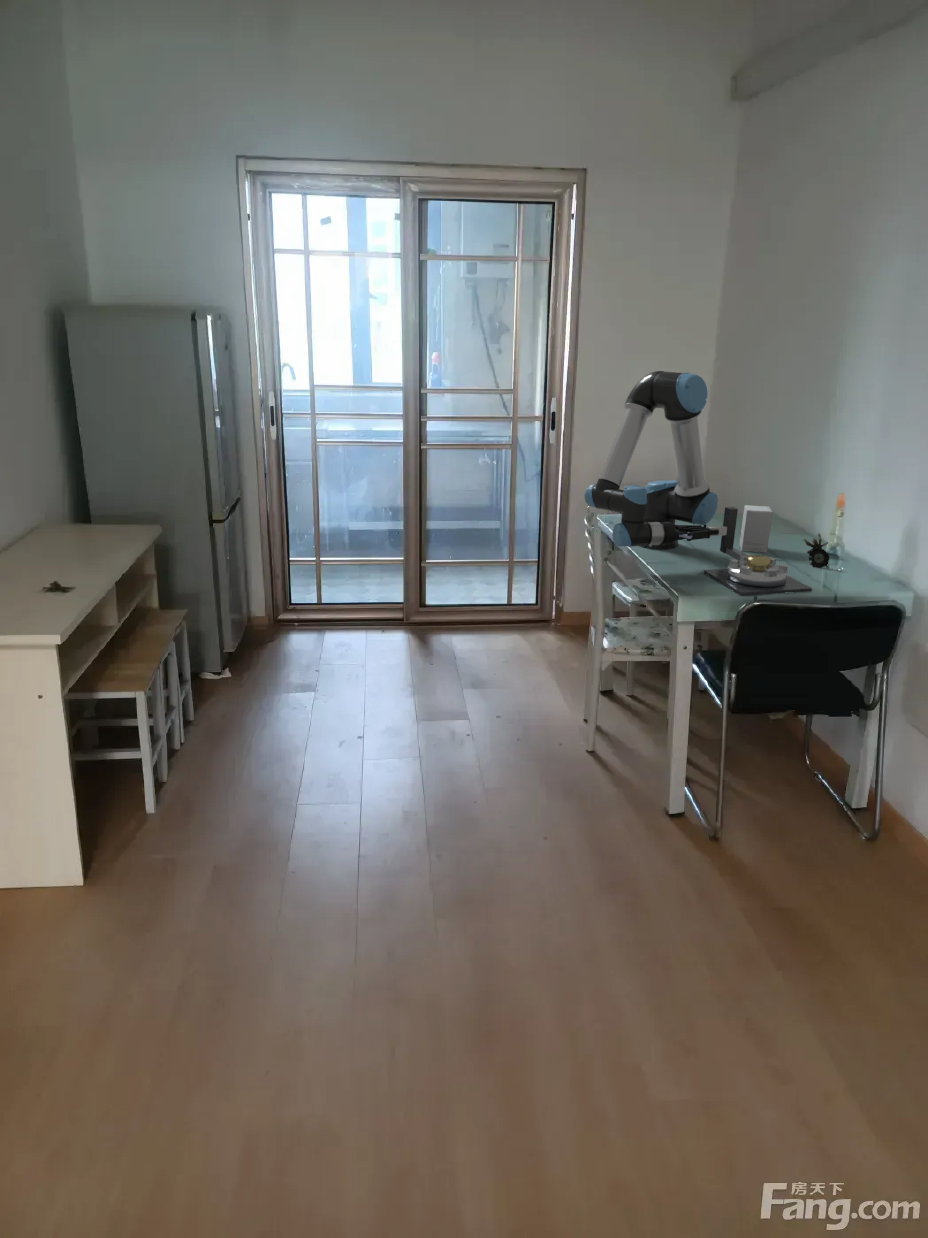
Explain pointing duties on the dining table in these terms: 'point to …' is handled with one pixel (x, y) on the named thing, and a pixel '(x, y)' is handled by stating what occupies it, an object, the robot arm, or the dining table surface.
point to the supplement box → (755, 528)
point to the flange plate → (742, 589)
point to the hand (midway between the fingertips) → (725, 530)
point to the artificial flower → (817, 553)
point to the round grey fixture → (738, 567)
